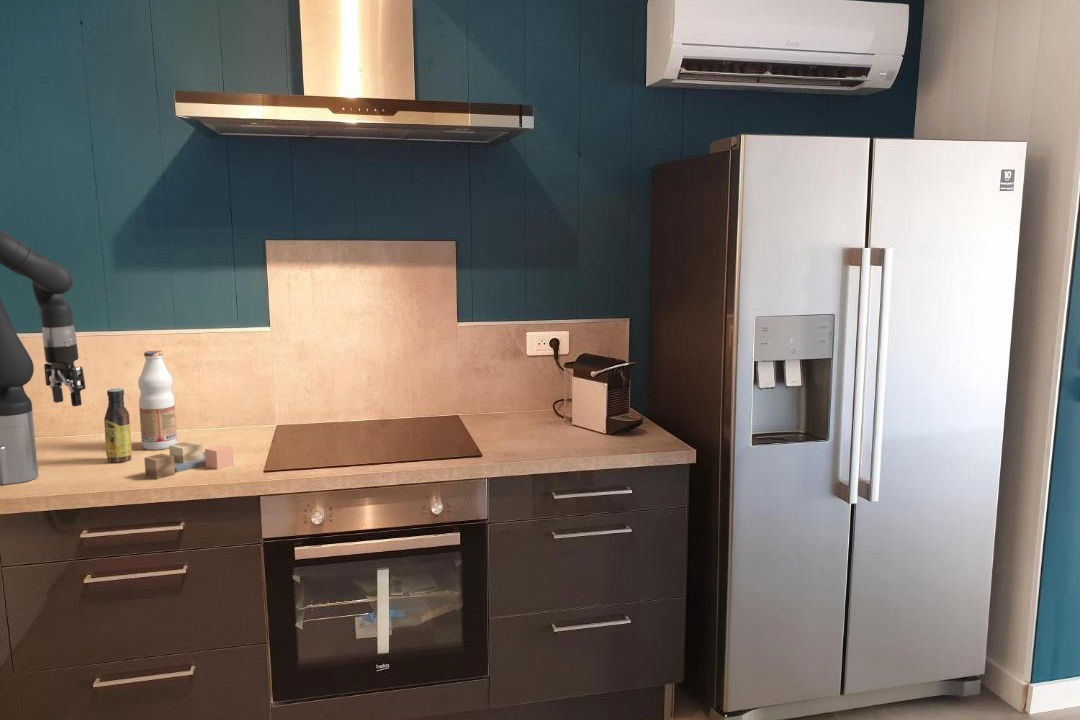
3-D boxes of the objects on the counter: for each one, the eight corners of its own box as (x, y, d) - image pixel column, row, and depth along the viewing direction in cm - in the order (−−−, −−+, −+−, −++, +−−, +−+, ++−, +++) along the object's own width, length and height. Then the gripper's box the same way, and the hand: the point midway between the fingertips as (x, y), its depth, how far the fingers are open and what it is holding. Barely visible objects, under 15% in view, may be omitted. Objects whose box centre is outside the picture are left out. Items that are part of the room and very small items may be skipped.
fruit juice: (140, 451, 237) (133, 354, 233) (143, 443, 246) (137, 350, 242) (176, 448, 240) (170, 353, 236) (178, 441, 249) (172, 348, 245)
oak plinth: (183, 463, 222) (182, 448, 221) (170, 459, 225) (169, 445, 225) (203, 458, 227) (202, 443, 226) (190, 454, 230) (189, 440, 230)
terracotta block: (217, 469, 220) (216, 451, 219) (205, 466, 223) (204, 448, 222) (233, 465, 224) (232, 447, 223) (221, 462, 227) (220, 444, 226)
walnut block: (157, 479, 211) (155, 460, 210) (145, 476, 214) (144, 457, 213) (175, 474, 215) (173, 456, 214) (163, 471, 218) (162, 453, 217)
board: (176, 472, 217) (176, 468, 217) (150, 465, 224) (149, 461, 224) (223, 460, 229) (223, 456, 229) (196, 453, 235) (196, 450, 235)
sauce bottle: (103, 460, 228) (98, 389, 225) (127, 456, 233) (122, 386, 230) (111, 465, 224) (106, 392, 221) (136, 460, 228) (131, 389, 225)
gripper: (30, 343, 217) (38, 404, 220) (61, 347, 209) (68, 410, 212) (59, 339, 223) (66, 398, 226) (90, 343, 216) (97, 404, 219)
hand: (67, 403), depth 219 cm, fingers open, 8 cm apart
